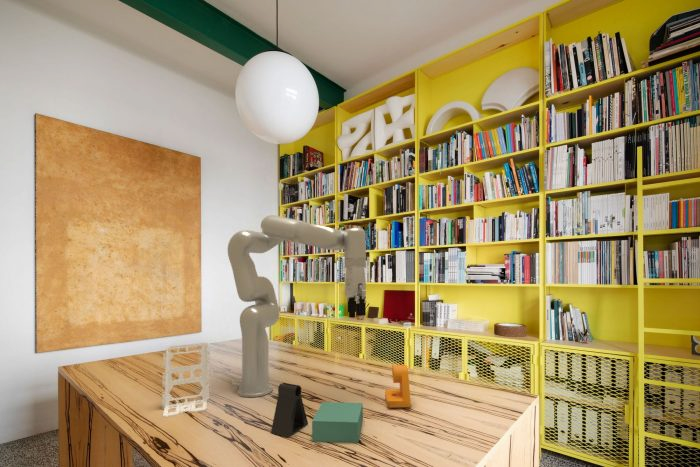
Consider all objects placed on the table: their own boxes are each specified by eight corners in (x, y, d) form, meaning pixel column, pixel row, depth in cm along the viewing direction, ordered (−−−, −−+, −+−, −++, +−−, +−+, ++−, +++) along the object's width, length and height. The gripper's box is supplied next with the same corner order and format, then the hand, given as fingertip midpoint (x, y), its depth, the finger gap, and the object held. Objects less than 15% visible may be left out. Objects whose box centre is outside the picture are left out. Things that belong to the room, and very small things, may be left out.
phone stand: (287, 438, 92) (287, 391, 93) (270, 433, 95) (270, 387, 96) (308, 424, 100) (307, 381, 101) (291, 420, 102) (291, 378, 104)
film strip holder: (159, 418, 106) (161, 351, 108) (163, 403, 119) (165, 343, 121) (209, 410, 112) (210, 346, 114) (208, 396, 125) (209, 339, 127)
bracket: (385, 397, 119) (383, 361, 120) (406, 397, 119) (404, 361, 120) (387, 410, 108) (386, 370, 110) (410, 409, 108) (409, 370, 109)
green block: (312, 441, 90) (312, 420, 90) (322, 419, 103) (322, 401, 103) (358, 442, 88) (357, 422, 89) (363, 420, 101) (362, 402, 102)
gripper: (338, 264, 128) (339, 311, 126) (352, 263, 111) (353, 317, 110) (357, 264, 130) (358, 310, 128) (374, 263, 113) (375, 316, 112)
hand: (356, 313), depth 119 cm, fingers open, 9 cm apart
